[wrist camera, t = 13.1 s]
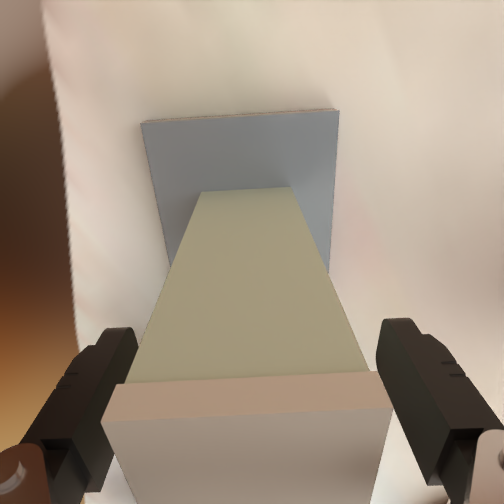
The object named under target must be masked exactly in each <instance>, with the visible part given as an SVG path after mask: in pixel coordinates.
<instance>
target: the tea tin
mask: <svg viewBox="0 0 504 504" xmlns="http://www.w3.org/2000/svg"><path fill="white" fill-rule="evenodd" d="M393 408H394V407H393V405H392V403H391V401H390V398H389V396H388V394H387V392H386V390H385V387H384V385H383V383H382V381H381V379H380V376H379V374H378V372H377V371H370V370H369V368H368V366H367V363H366V361H365V359H364V356H363V354H362V352H361V349H360V347H359V345H358V342H357V340H356V338H355V335H354V333H353V331H352V328H351V326H350V324H349V321H348V319H347V317H346V314H345V312H344V310H343V307H342V305H341V303H340V300H339V298H338V296H337V293H336V291H335V289H334V286H333V284H332V282H331V279H330V277H329V275H328V272H327V270H326V268H325V265H324V263H323V261H322V258H321V256H320V254H319V251H318V249H317V247H316V244H315V242H314V240H313V237H312V235H311V233H310V230H309V228H308V226H307V223H306V221H305V219H304V216H303V214H302V212H301V209H300V207H299V205H298V202H297V200H296V198H295V195H294V193H293V191H292V188H291V187H279V188H261V189H243V190H226V191H208V192H201V194H200V196H199V199H198V201H197V204H196V206H195V209H194V211H193V214H192V216H191V219H190V221H189V224H188V226H187V229H186V231H185V234H184V236H183V238H182V241H181V243H180V246H179V248H178V251H177V253H176V256H175V258H174V261H173V263H172V266H171V268H170V271H169V273H168V276H167V278H166V281H165V283H164V286H163V288H162V291H161V293H160V296H159V298H158V301H157V303H156V306H155V308H154V311H153V313H152V316H151V318H150V321H149V323H148V326H147V328H146V331H145V333H144V336H143V338H142V341H141V343H140V346H139V348H138V351H137V353H136V356H135V358H134V361H133V363H132V366H131V368H130V371H129V373H128V376H127V378H126V381H125V383H124V384H116V387H115V389H114V391H113V394H112V396H111V398H110V401H109V403H108V405H107V408H106V410H105V413H104V415H103V417H102V420H101V425H102V427H103V429H104V431H105V433H106V436H107V438H108V440H109V442H110V445H111V447H112V449H113V451H114V453H115V456H116V458H117V460H118V462H119V465H120V467H121V469H122V471H123V473H124V476H125V478H126V480H127V482H128V485H129V487H130V489H131V491H132V493H133V496H134V498H135V500H136V502H137V504H370V500H371V496H372V492H373V488H374V484H375V480H376V476H377V472H378V468H379V464H380V460H381V456H382V452H383V448H384V444H385V440H386V436H387V432H388V428H389V424H390V420H391V416H392V412H393Z"/></svg>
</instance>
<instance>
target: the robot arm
mask: <svg viewBox="0 0 504 504" xmlns="http://www.w3.org/2000/svg"><path fill="white" fill-rule="evenodd" d="M138 348H139V347H138V343H137V340H136V337H135V333H134V331H133V329H132V328H131V327H125V328H107V329H105V330H104V331H103V333H102V334H101V336H100V338H99V339H98V341H97V343H96V345H88V346H87V347H86V348H85V349H84V350H83V351H82V352H81V353H79V354H78V355H77V356H76V357H75V358H74V359H73V360H72V362H71V364H70V365H69V367H68V368H67V370H66V372H65V374H64V376H62V378H61V379H60V381H59V382H58V384H57V386H56V389H54V390H53V392H52V393H51V395H50V397H49V398H48V400H47V401H46V403H45V404H44V406H43V407H42V409H41V410H40V412H39V414H38V415H37V417H36V418H35V420H34V421H33V423H32V425H31V426H30V428H29V429H28V431H27V432H26V434H25V435H24V437H23V439H22V440H21V441H20V443H19V444H18V445H15V446H12V447H10V448H8V449H6V450H4V451H2V452H0V504H80V502H81V500H82V498H83V495H84V493H87V492H101V489H102V486H103V483H104V481H105V478H106V475H107V473H108V470H109V467H110V464H111V462H112V459H113V456H114V454H115V453H114V451H113V449H112V447H111V445H110V442H109V440H108V438H107V436H106V433H105V431H104V429H103V427H102V425H101V420H102V417H103V415H104V413H105V410H106V408H107V405H108V403H109V401H110V398H111V396H112V394H113V391H114V389H115V387H116V384H124V383H125V381H126V378H127V376H128V373H129V371H130V368H131V366H132V363H133V361H134V358H135V356H136V353H137V351H138ZM376 365H377V369H378V373H379V375H380V378H381V380H382V382H383V384H384V387H385V389H386V391H387V394H388V396H389V398H390V401H391V403H392V405H393V407H394V410H395V412H396V415H397V417H398V419H399V421H400V424H401V426H402V428H403V431H404V433H405V435H406V438H407V440H408V442H409V445H410V447H411V449H412V451H413V454H414V456H415V458H416V461H417V463H418V465H419V468H420V470H421V472H422V475H423V477H424V479H425V482H426V484H427V486H434V485H443V486H444V488H445V490H446V492H447V494H448V497H449V500H448V502H447V504H504V426H503V424H502V423H501V422H500V420H499V419H498V418H497V416H496V415H495V413H494V412H493V411H492V409H491V408H490V407H489V405H488V404H487V402H486V401H485V400H484V398H483V397H482V396H481V394H480V393H479V391H478V390H477V389H476V387H475V386H474V385H473V383H472V382H471V380H470V379H469V378H468V377H466V375H465V372H464V371H463V369H462V368H461V367H460V365H459V364H457V363H456V360H455V358H454V357H453V356H452V354H451V353H450V352H449V350H448V349H447V348H446V346H444V345H443V344H442V343H441V342H439V341H438V340H437V339H435V338H434V337H433V336H431V335H430V334H421V332H420V331H419V329H418V328H417V326H416V325H415V323H414V322H413V320H412V319H410V318H392V319H384V320H383V321H382V325H381V330H380V335H379V340H378V346H377V351H376Z"/></svg>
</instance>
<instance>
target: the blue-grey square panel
mask: <svg viewBox="0 0 504 504" xmlns="http://www.w3.org/2000/svg"><path fill="white" fill-rule="evenodd" d="M140 125H141V129H142V134H143V139H144V144H145V148H146V153H147V158H148V162H149V167H150V172H151V177H152V181H153V186H154V191H155V196H156V200H157V205H158V210H159V215H160V219H161V224H162V229H163V234H164V238H165V243H166V248H167V253H168V257H169V262H170V267H171V266H172V263H173V261H174V258H175V256H176V253H177V251H178V248H179V246H180V243H181V241H182V238H183V236H184V234H185V231H186V229H187V226H188V224H189V221H190V219H191V216H192V214H193V211H194V209H195V206H196V204H197V201H198V199H199V196H200V194H201V192H208V191H226V190H243V189H261V188H279V187H291V188H292V191H293V193H294V195H295V198H296V200H297V202H298V205H299V207H300V209H301V212H302V214H303V216H304V219H305V221H306V223H307V226H308V228H309V230H310V233H311V235H312V237H313V240H314V242H315V244H316V247H317V249H318V251H319V254H320V256H321V258H322V261H323V263H324V265H325V268H326V270H327V272H328V273H329V258H330V244H331V229H332V214H333V199H334V184H335V170H336V155H337V140H338V125H339V110H337V109H319V110H304V111H288V112H273V113H257V114H242V115H226V116H211V117H195V118H180V119H164V120H149V121H145V122H142V123H140Z"/></svg>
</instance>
